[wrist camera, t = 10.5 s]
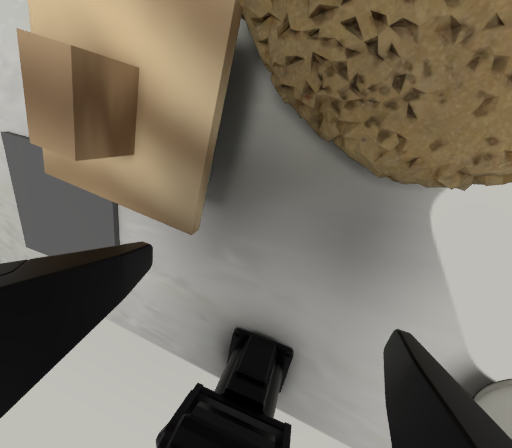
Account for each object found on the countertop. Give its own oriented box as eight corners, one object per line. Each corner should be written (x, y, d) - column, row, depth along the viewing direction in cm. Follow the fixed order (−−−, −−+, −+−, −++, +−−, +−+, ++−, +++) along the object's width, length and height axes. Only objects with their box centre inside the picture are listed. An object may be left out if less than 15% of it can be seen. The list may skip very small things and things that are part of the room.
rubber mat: (120, 279, 29) (116, 282, 28) (31, 245, 31) (26, 247, 31) (115, 160, 23) (110, 161, 23) (7, 131, 26) (0, 131, 25)
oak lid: (198, 229, 18) (152, 262, 13) (57, 171, 20) (-24, 182, 15) (242, 7, 12) (189, -66, 8) (42, -41, 14) (-92, -120, 10)
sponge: (223, -14, 17) (339, 244, 17) (155, -189, 10) (363, 276, 9) (416, -153, 14) (562, 157, 14) (541, -571, 7) (876, 97, 6)
